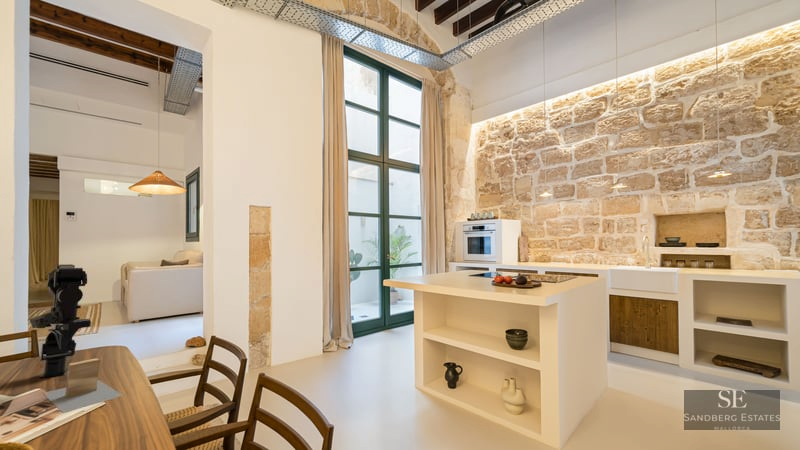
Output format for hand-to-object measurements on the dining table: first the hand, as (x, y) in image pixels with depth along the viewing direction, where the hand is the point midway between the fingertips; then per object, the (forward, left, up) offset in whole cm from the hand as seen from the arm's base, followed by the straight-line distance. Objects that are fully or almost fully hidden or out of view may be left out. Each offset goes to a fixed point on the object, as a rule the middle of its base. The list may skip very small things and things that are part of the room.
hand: (62, 349), depth 114 cm
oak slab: (+12, +8, -12) cm, 19 cm away
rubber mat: (+14, +9, -12) cm, 21 cm away
